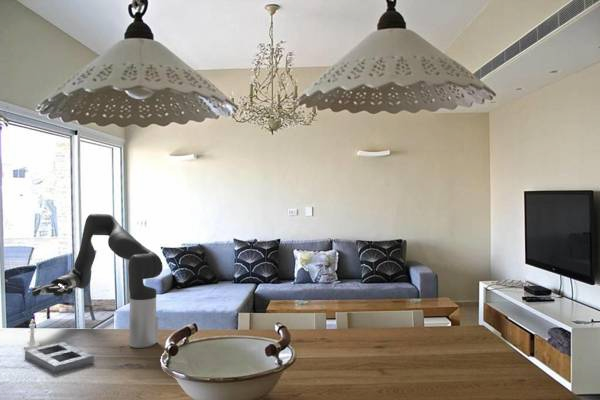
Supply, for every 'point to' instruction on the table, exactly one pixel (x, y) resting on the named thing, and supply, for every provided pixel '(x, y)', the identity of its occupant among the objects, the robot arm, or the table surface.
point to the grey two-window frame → (59, 357)
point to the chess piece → (32, 337)
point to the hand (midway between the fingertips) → (46, 293)
